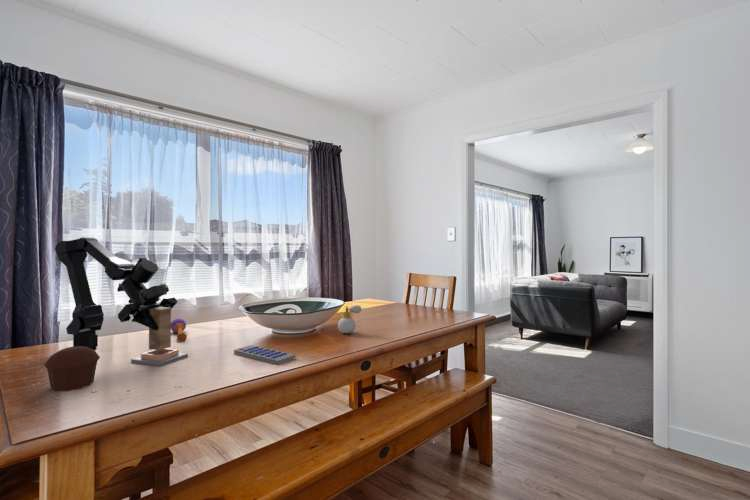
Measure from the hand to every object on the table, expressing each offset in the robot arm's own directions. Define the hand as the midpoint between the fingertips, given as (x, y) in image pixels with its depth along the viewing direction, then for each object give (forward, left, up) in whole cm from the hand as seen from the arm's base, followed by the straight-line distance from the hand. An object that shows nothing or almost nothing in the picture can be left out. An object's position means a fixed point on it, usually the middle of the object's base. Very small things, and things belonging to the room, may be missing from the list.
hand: (163, 328), depth 126 cm
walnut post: (-1, +1, -7) cm, 7 cm away
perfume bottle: (+70, -7, -11) cm, 71 cm away
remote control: (+27, -16, -11) cm, 34 cm away
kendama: (+13, +32, -11) cm, 36 cm away
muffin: (-24, -10, -11) cm, 28 cm away
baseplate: (-1, +1, -10) cm, 10 cm away
